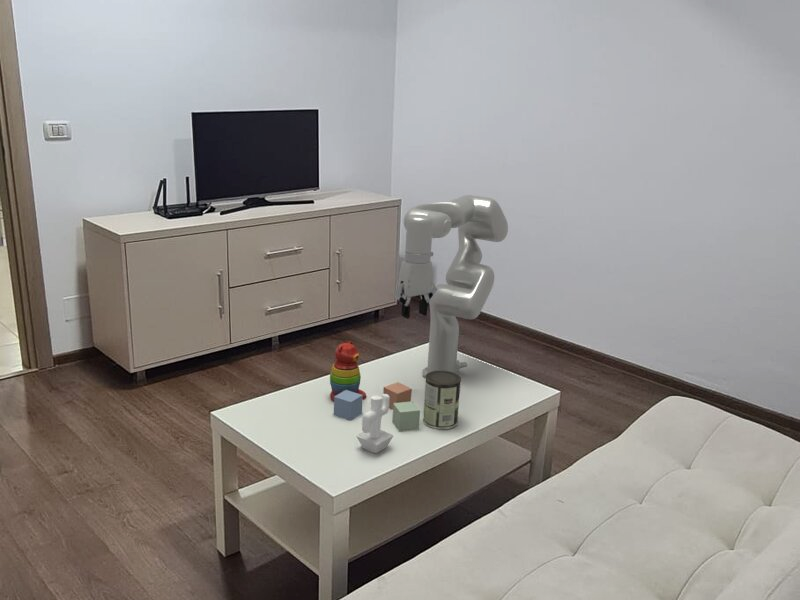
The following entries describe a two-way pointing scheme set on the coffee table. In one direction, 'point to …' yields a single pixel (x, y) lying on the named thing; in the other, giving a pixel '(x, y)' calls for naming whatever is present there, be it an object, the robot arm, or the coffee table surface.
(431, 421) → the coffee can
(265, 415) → the coffee table surface
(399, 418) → the sage block
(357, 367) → the stacking bear
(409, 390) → the terracotta block
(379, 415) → the figurine
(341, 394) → the slate block
